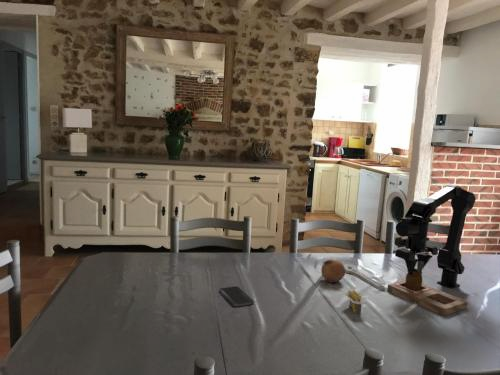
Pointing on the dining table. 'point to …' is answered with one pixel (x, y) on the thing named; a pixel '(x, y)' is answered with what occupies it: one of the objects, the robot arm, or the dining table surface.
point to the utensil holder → (414, 279)
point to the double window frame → (429, 298)
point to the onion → (333, 270)
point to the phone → (236, 296)
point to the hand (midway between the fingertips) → (414, 273)
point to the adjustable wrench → (363, 277)
